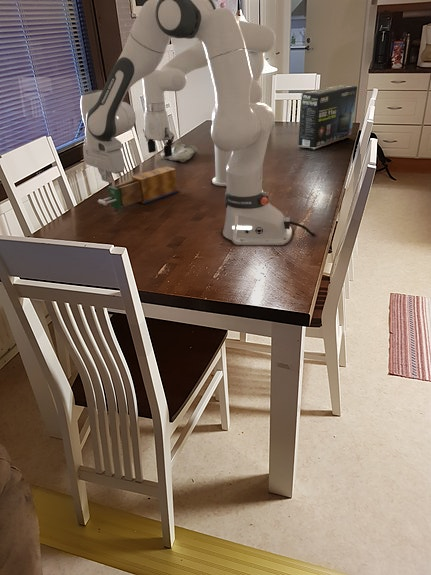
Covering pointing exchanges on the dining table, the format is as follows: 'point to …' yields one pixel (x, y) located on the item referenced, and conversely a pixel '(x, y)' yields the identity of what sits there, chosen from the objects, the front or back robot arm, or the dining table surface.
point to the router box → (326, 115)
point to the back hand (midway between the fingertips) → (160, 154)
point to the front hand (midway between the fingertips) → (106, 180)
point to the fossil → (181, 152)
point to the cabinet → (157, 183)
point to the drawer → (124, 194)
